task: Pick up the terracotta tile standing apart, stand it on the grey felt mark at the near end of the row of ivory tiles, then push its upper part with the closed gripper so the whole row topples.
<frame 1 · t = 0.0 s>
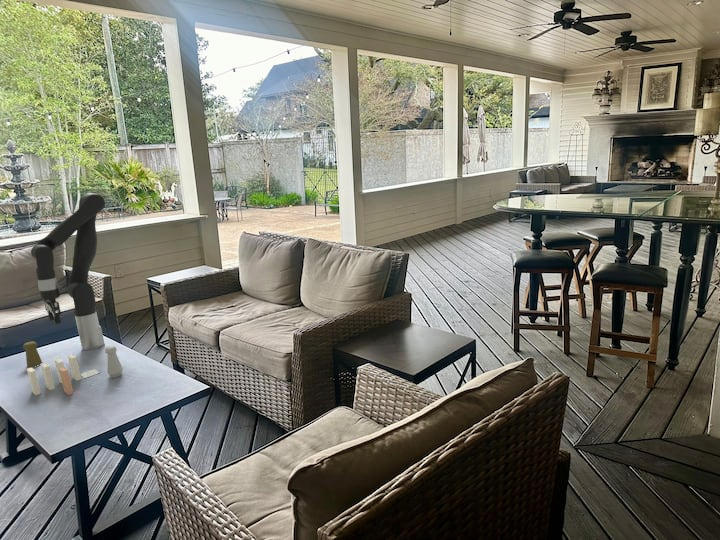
hand: (55, 321, 230), 17 cm above the table, tool pointing down, fingers open, 8 cm apart
salt shaker: (116, 376, 209), on the table
domino 3: (64, 382, 205), on the table
domino 1: (68, 392, 197), on the table
domino 4: (50, 387, 202), on the table
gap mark: (89, 373, 212), on the table
domino 5: (36, 392, 199), on the table
domino 2: (77, 378, 209), on the table
cork: (34, 365, 226), on the table
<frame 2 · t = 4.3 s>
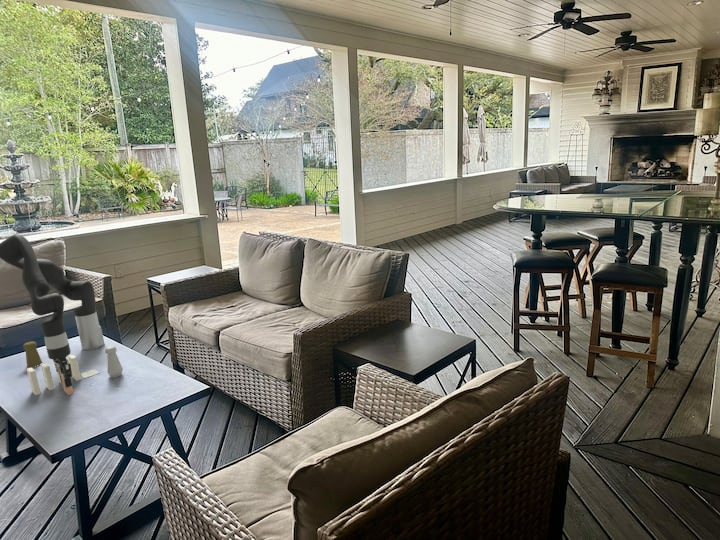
hand: (66, 384, 196), 3 cm above the table, tool pointing down, fingers closed on domino 1, 5 cm apart
domino 1: (68, 392, 197), on the table, touching gripper
everything else where it was.
when the fingers open (5 cm above the table, at t = 9.4 s): domino 1 stays where it is, resting on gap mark.
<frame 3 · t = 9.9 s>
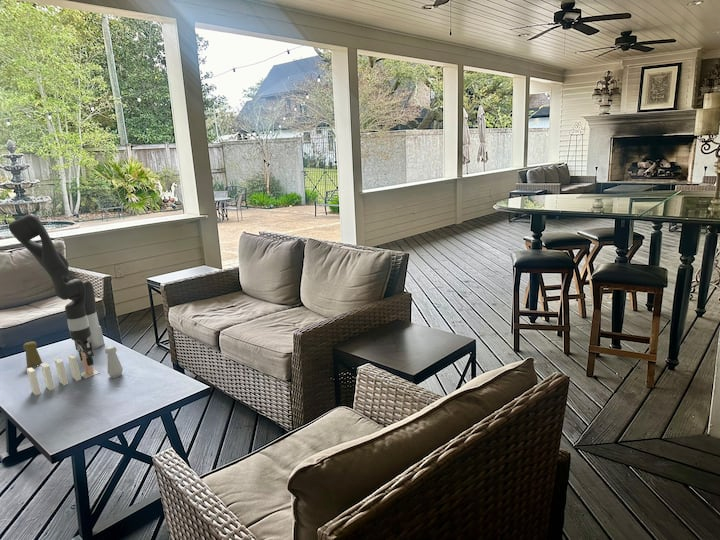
hand: (87, 362, 211), 5 cm above the table, tool pointing down, fingers open, 8 cm apart
domino 1: (89, 373, 212), resting on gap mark
everything else where it was.
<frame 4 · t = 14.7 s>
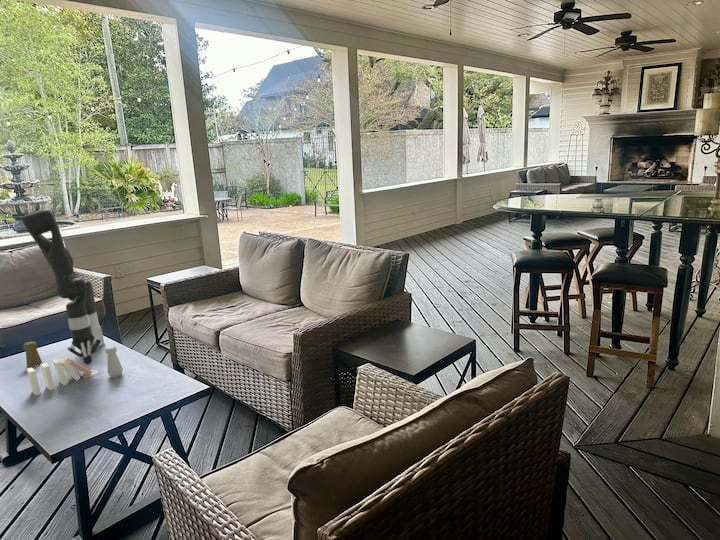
hand: (88, 363, 211), 5 cm above the table, tool pointing down, fingers closed
domino 1: (88, 372, 212), point 1 cm above the table, tilted 39°, touching domino 2, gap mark
domino 2: (76, 377, 209), on the table, tilted 23°, touching domino 1
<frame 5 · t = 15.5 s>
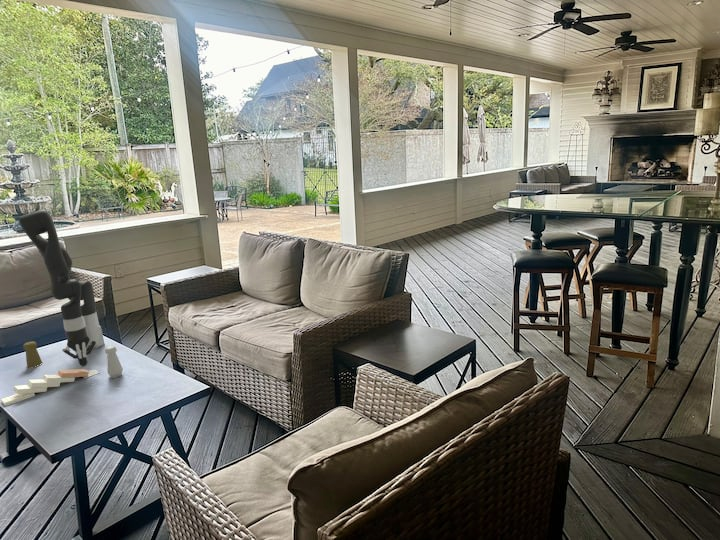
hand: (83, 365, 210), 5 cm above the table, tool pointing down, fingers closed
domino 3: (57, 382, 204), point 1 cm above the table, tilted 69°, touching domino 2, domino 4
domino 1: (86, 372, 211), point 1 cm above the table, tilted 71°, touching domino 2, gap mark
domino 4: (44, 387, 200), point 1 cm above the table, tilted 72°, touching domino 3
domino 5: (32, 392, 198), on the table, tilted 90°
domino 2: (72, 378, 208), point 1 cm above the table, tilted 69°, touching domino 1, domino 3
everything else where it was.
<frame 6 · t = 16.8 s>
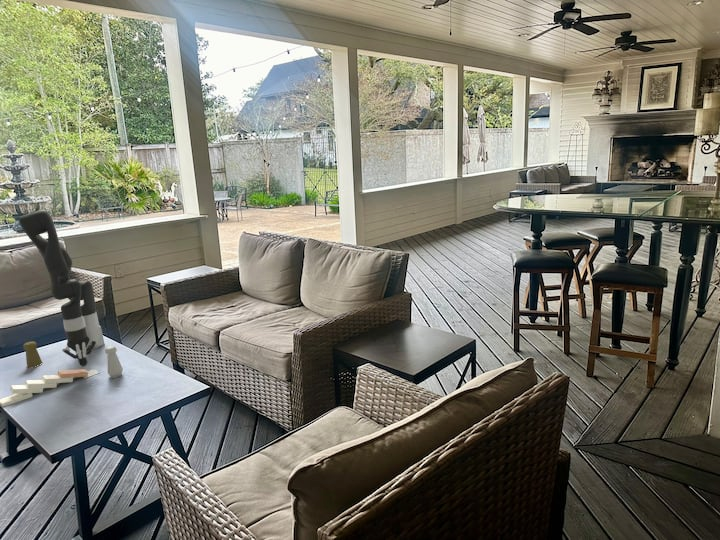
hand: (83, 365, 210), 4 cm above the table, tool pointing down, fingers closed
domino 3: (55, 383, 203), point 1 cm above the table, tilted 69°, touching domino 2, domino 4
domino 4: (41, 388, 200), point 1 cm above the table, tilted 69°, touching domino 3, domino 5
domino 5: (30, 393, 197), on the table, tilted 90°, touching domino 4
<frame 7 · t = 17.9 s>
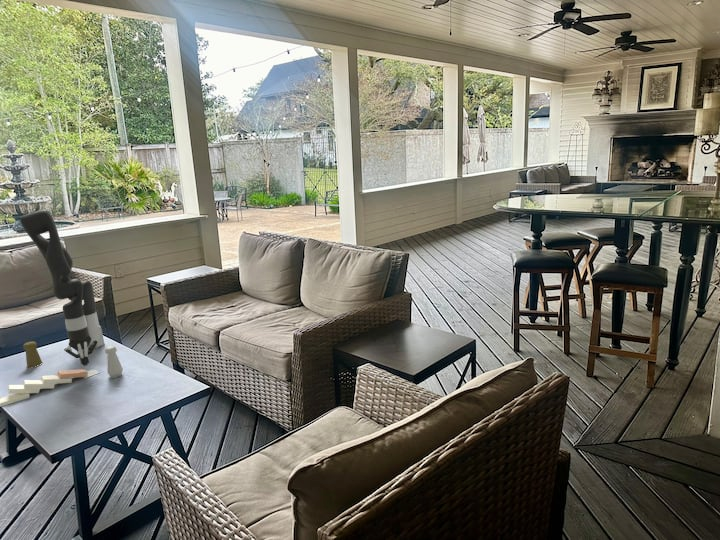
hand: (85, 364, 211), 4 cm above the table, tool pointing down, fingers closed
domino 3: (53, 384, 203), point 1 cm above the table, tilted 70°, touching domino 2, domino 4
domino 1: (85, 372, 211), point 1 cm above the table, tilted 73°, touching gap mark
domino 4: (38, 388, 200), point 1 cm above the table, tilted 71°, touching domino 3
domino 5: (28, 394, 197), on the table, tilted 90°
domino 2: (70, 378, 207), point 1 cm above the table, tilted 71°, touching domino 3
everything else where it was.
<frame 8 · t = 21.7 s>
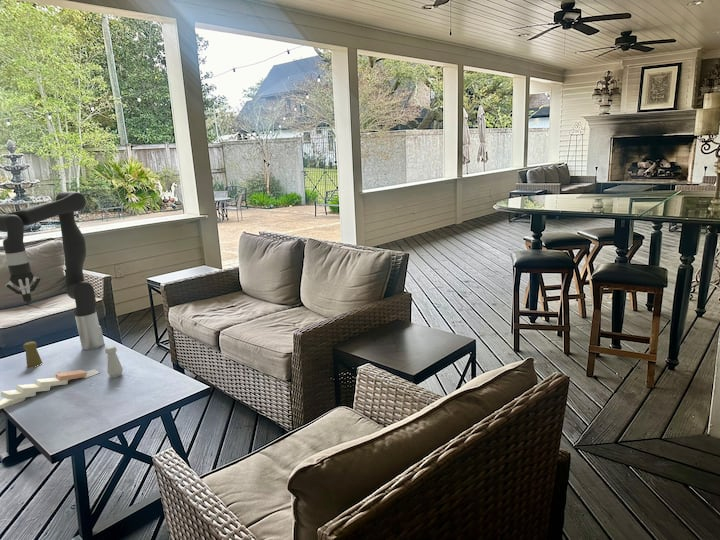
hand: (27, 302, 211), 32 cm above the table, tool pointing down, fingers closed
domino 3: (46, 386, 201), point 1 cm above the table, tilted 69°, touching domino 2, domino 4
domino 1: (84, 373, 211), point 1 cm above the table, tilted 76°, touching domino 2, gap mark
domino 4: (31, 392, 196), point 1 cm above the table, tilted 70°, touching domino 3, domino 5
domino 5: (23, 396, 195), on the table, tilted 90°, touching domino 4
domino 2: (65, 380, 206), point 1 cm above the table, tilted 72°, touching domino 1, domino 3
everything else where it was.
at the end: domino 5 tilted 90°; domino 1 tilted 76°; domino 1 inside the target area (0.5 cm from its centre), point 1.1 cm above the table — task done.
